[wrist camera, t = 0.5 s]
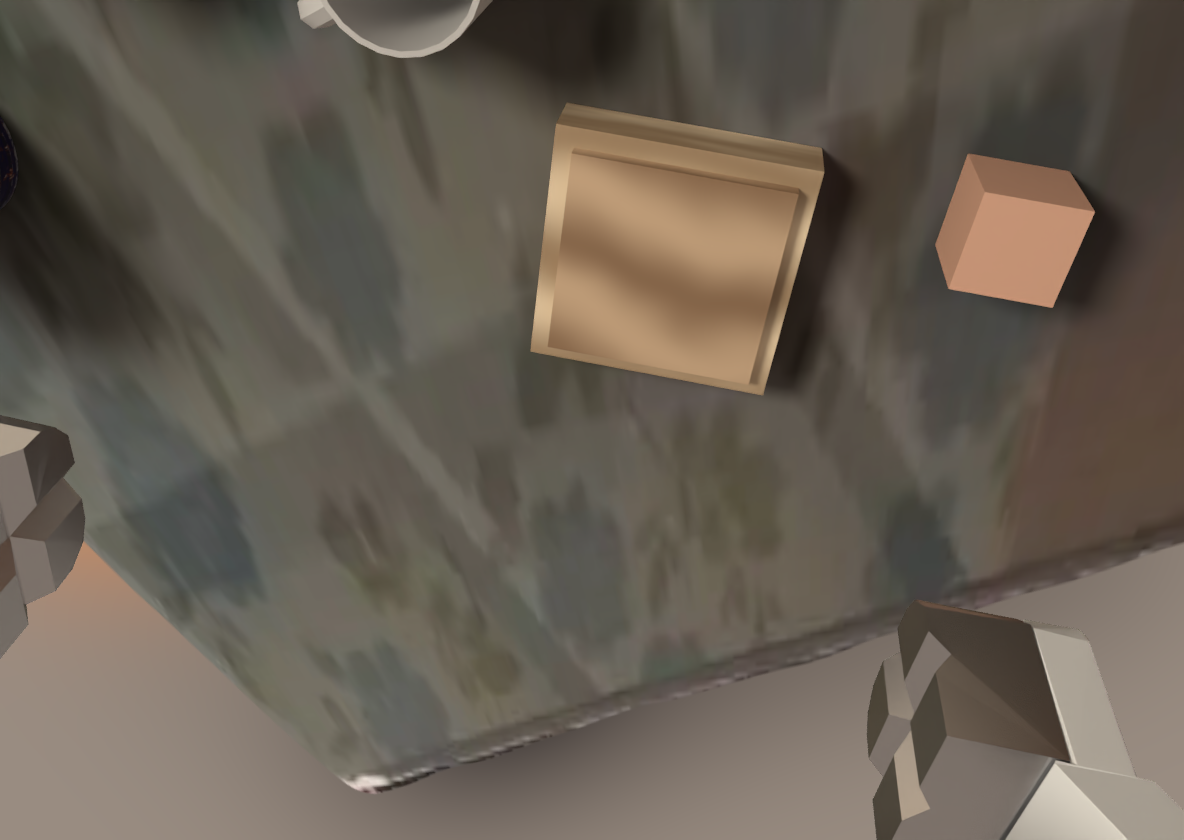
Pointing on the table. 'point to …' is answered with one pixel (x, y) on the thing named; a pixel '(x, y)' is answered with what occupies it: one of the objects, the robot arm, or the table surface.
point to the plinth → (671, 246)
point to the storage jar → (7, 165)
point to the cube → (1012, 230)
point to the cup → (396, 22)
